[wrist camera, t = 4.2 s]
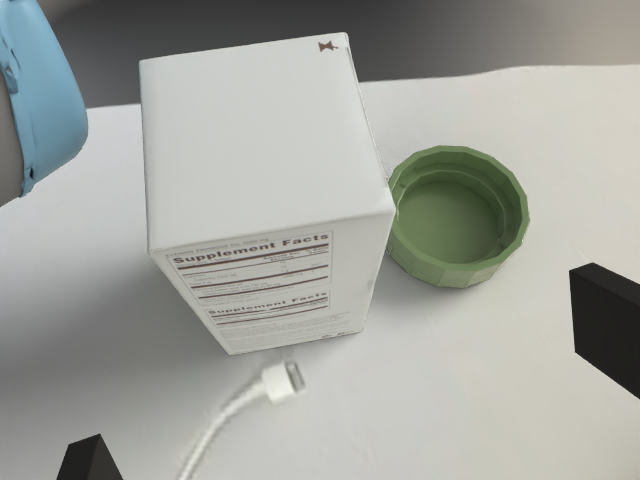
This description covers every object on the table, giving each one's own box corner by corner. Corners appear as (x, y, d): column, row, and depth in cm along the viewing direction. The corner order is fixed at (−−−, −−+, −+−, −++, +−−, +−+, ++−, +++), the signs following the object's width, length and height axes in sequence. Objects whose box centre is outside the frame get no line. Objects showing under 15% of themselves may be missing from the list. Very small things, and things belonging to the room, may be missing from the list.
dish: (410, 308, 34) (419, 290, 31) (360, 193, 38) (363, 167, 35) (535, 265, 35) (556, 244, 32) (474, 158, 39) (487, 130, 36)
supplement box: (212, 230, 37) (132, 50, 21) (337, 208, 37) (346, 20, 22) (226, 361, 33) (139, 255, 17) (366, 335, 33) (402, 210, 18)
